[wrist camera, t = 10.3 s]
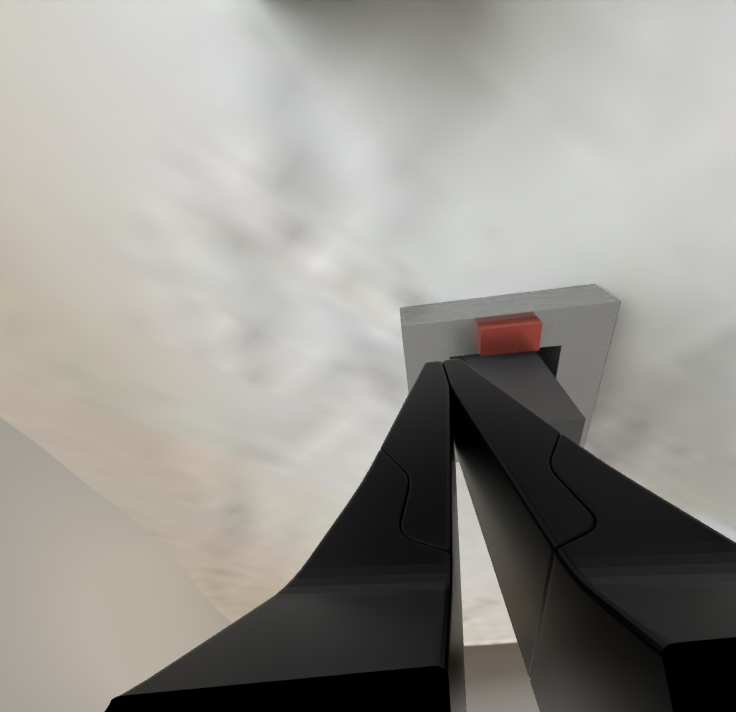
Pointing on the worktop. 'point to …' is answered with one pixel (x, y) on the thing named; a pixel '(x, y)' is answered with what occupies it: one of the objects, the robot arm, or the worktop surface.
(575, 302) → the socket plate
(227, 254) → the worktop surface
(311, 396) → the worktop surface
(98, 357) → the worktop surface
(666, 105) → the worktop surface
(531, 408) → the plug
